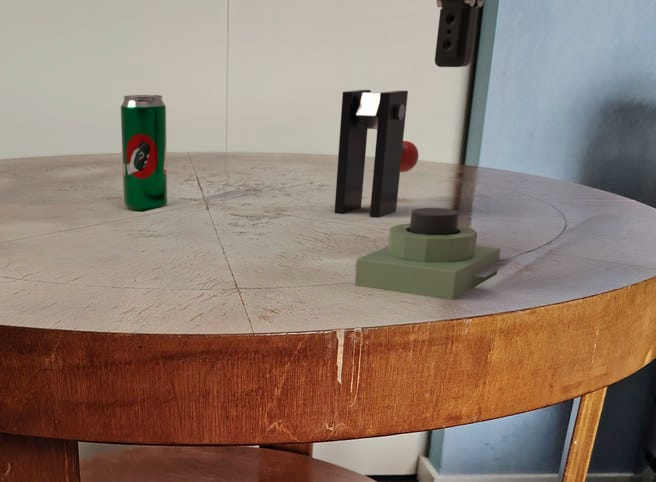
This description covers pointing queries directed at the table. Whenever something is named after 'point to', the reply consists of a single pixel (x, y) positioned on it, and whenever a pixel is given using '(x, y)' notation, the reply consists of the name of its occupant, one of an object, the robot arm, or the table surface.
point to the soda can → (144, 152)
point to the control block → (427, 263)
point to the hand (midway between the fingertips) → (452, 66)
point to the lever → (369, 120)
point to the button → (434, 221)
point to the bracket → (385, 154)
